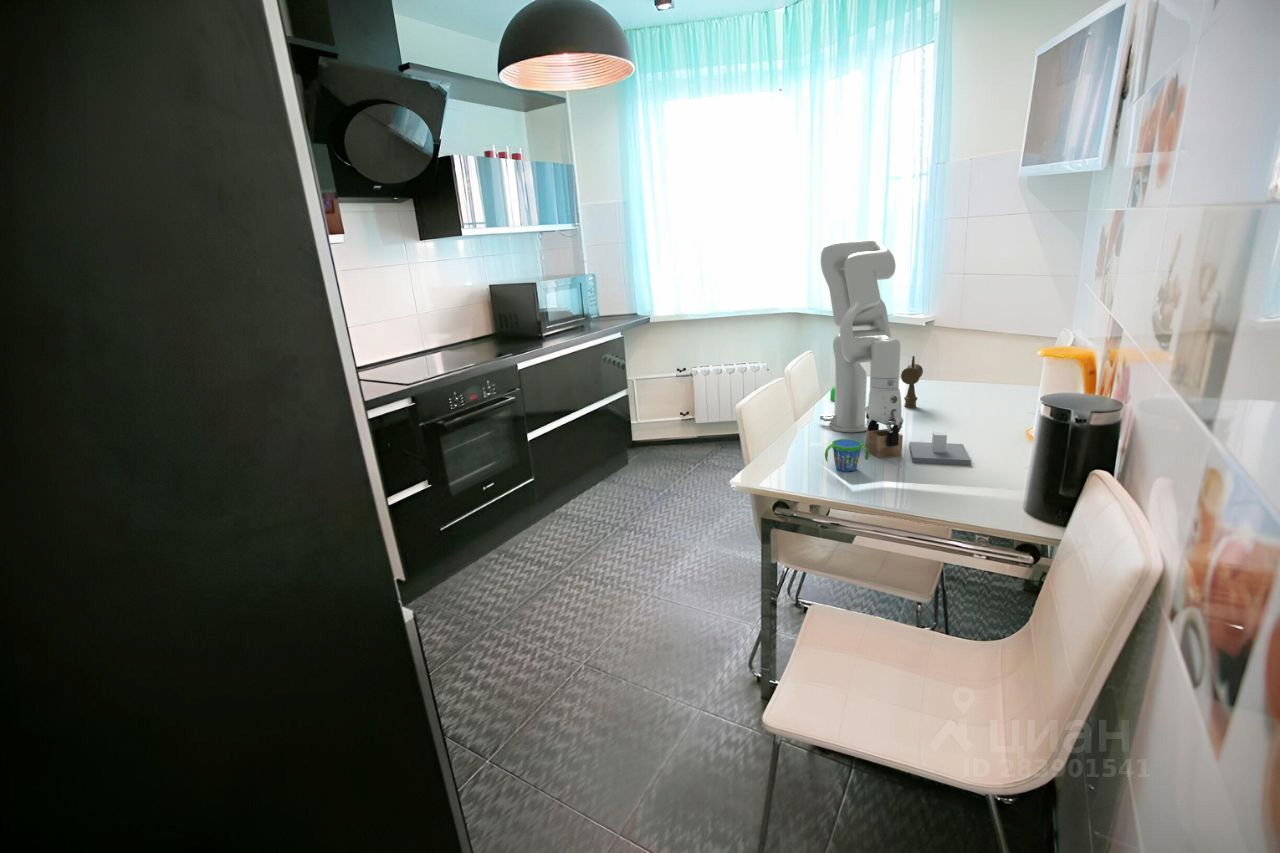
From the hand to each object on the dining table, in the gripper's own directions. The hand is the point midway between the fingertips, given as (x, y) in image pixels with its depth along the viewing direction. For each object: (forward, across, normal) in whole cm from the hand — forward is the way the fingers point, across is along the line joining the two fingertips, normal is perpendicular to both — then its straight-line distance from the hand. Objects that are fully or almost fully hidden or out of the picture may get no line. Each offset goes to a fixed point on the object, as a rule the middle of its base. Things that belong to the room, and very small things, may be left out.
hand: (882, 441), depth 167 cm
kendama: (+2, +36, -33) cm, 49 cm away
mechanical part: (+2, +53, -18) cm, 56 cm away
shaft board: (+4, -7, -13) cm, 15 cm away
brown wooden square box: (+4, 0, 0) cm, 4 cm away
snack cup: (+4, -8, +16) cm, 18 cm away
